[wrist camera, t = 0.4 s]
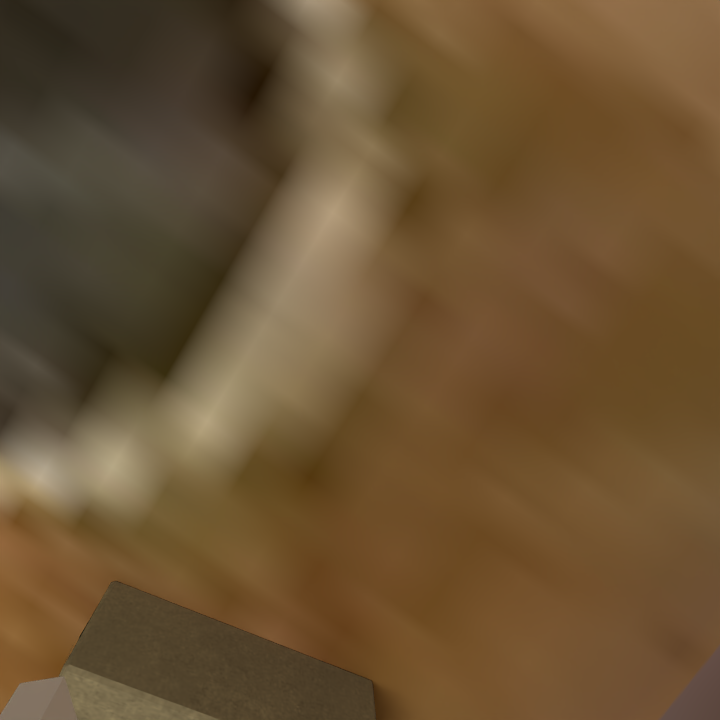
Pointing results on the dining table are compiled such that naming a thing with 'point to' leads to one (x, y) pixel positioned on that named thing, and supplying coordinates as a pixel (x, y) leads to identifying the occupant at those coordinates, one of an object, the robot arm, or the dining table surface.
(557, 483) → the dining table surface
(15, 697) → the robot arm
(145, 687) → the tissue box
